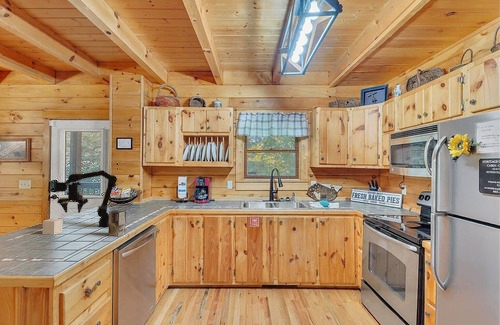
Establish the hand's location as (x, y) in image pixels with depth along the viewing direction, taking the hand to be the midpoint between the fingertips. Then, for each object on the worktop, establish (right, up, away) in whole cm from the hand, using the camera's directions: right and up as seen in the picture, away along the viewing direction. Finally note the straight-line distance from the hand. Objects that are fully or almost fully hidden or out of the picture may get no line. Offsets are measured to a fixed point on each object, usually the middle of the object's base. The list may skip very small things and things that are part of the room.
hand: (72, 212), depth 190 cm
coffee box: (+37, -13, -10) cm, 40 cm away
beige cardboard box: (-6, -12, -11) cm, 17 cm away
